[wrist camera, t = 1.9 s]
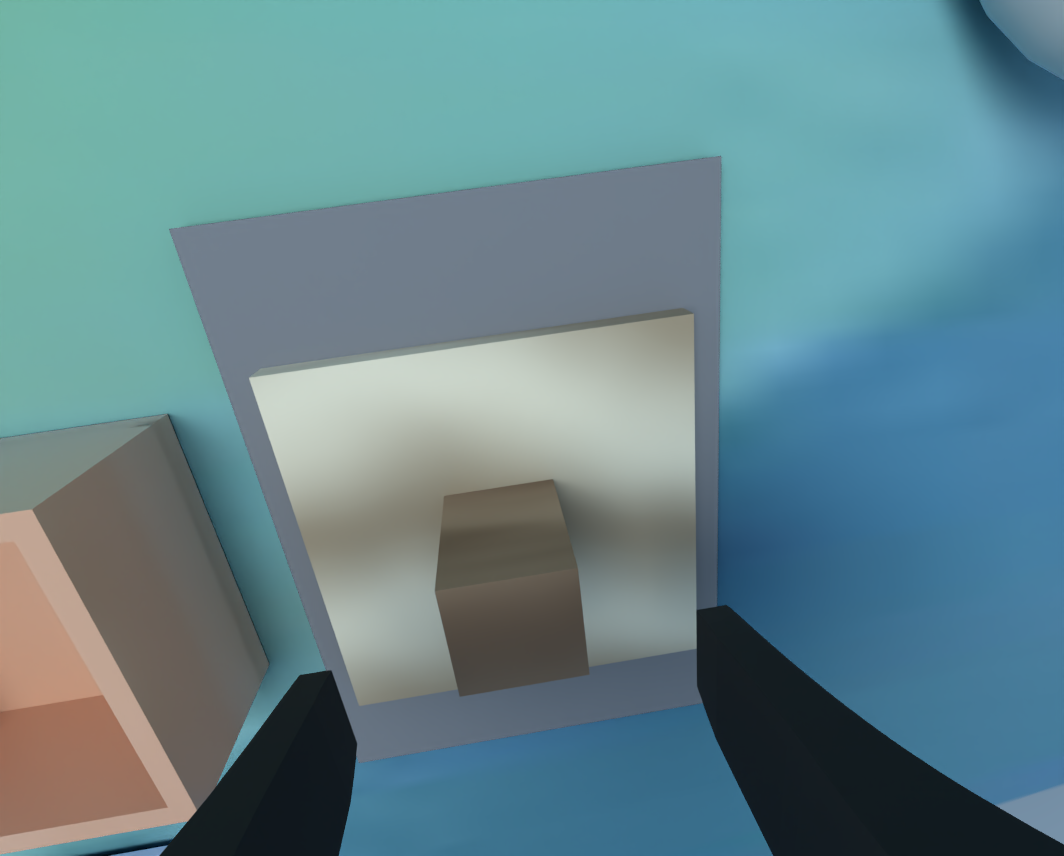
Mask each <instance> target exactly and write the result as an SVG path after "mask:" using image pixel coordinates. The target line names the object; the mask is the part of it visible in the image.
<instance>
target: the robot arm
mask: <svg viewBox="0 0 1064 856" xmlns="http://www.w3.org/2000/svg"><path fill="white" fill-rule="evenodd" d="M696 635H697V688H698V691H699V693H700V696H701V699H702V702H703V705H704V707H705V710H706V713H707V716H708V718H709V721H710V724H711V726H712V729H713V732H714V734H715V737H716V740H717V742H718V744H719V746H720V748H721V750H722V752H723V754H724V756H725V758H726V760H727V762H728V764H729V767H730V769H731V771H732V773H733V775H734V777H735V779H736V781H737V783H738V785H739V787H740V789H741V791H742V793H743V795H744V797H745V799H746V801H747V803H748V805H749V807H750V809H751V811H752V813H753V815H754V817H755V819H756V822H757V824H758V826H759V828H760V830H761V832H762V834H763V836H764V838H765V840H766V842H767V844H768V846H769V848H770V850H771V852H772V854H773V856H1064V845H1063V844H1062V843H1060V842H1058V841H1056V840H1055V839H1053V838H1051V837H1049V836H1047V835H1045V834H1044V833H1042V832H1040V831H1038V830H1036V829H1034V828H1033V827H1031V826H1029V825H1028V824H1026V823H1024V822H1023V821H1021V820H1019V819H1017V818H1016V817H1014V816H1012V815H1011V814H1009V813H1007V812H1005V811H1004V810H1002V809H1000V808H999V807H997V806H995V805H993V804H992V803H990V802H988V801H986V800H985V799H983V798H981V797H980V796H978V795H976V794H974V793H973V792H971V791H969V790H968V789H966V788H964V787H963V786H961V785H960V784H958V783H956V782H955V781H953V780H952V779H950V778H948V777H947V776H945V775H944V774H942V773H940V772H939V771H937V770H936V769H934V768H933V767H931V766H930V765H928V764H927V763H925V762H924V761H922V760H921V759H919V758H918V757H916V756H915V755H913V754H912V753H910V752H909V751H907V750H906V749H904V748H903V747H901V746H900V745H898V744H897V743H896V742H894V741H893V740H891V739H890V738H889V737H887V736H886V735H884V734H883V733H882V732H880V731H879V730H877V729H876V728H875V727H873V726H872V725H871V724H869V723H868V722H867V721H865V720H864V719H863V718H861V717H860V716H859V715H857V714H856V713H855V712H853V711H852V710H851V709H849V708H848V707H847V706H845V705H844V704H843V703H841V702H840V701H839V700H838V699H836V698H835V697H834V696H832V695H831V694H830V693H829V692H827V691H826V690H825V689H824V688H822V687H821V686H820V685H819V684H818V683H816V682H815V681H814V680H813V679H811V678H810V677H809V676H808V675H807V674H805V673H804V672H803V671H802V670H801V669H799V668H798V667H797V666H796V665H794V664H793V663H792V662H791V661H790V660H789V659H787V658H786V657H785V656H784V655H783V654H782V653H780V652H779V651H778V650H777V649H776V648H775V647H774V646H772V645H771V644H770V643H769V642H768V641H767V640H766V639H765V638H763V637H762V636H761V635H760V634H759V633H758V632H757V631H756V630H754V629H753V628H752V627H751V626H750V625H749V624H748V623H747V622H746V621H744V620H743V619H742V618H741V617H740V616H739V615H738V614H737V613H736V612H734V611H733V610H732V609H731V608H730V607H728V606H727V605H724V606H717V607H711V608H705V609H699V610H696ZM356 752H357V741H356V738H355V735H354V733H353V730H352V727H351V724H350V721H349V718H348V716H347V713H346V710H345V707H344V704H343V701H342V699H341V696H340V693H339V690H338V687H337V684H336V682H335V679H334V676H333V673H332V670H328V671H322V672H316V673H310V674H304V675H300V676H299V677H298V678H297V679H296V681H295V682H294V683H293V685H292V686H291V687H290V689H289V690H288V691H287V693H286V694H285V695H284V697H283V698H282V699H281V701H280V702H279V703H278V705H277V706H276V708H275V709H274V710H273V712H272V713H271V714H270V716H269V717H268V718H267V720H266V721H265V723H264V724H263V725H262V727H261V728H260V729H259V731H258V732H257V733H256V735H255V736H254V737H253V739H252V740H251V741H250V743H249V744H248V745H247V747H246V748H245V749H244V751H243V752H242V753H241V755H240V756H239V757H238V759H237V760H236V761H235V762H234V764H233V765H232V766H231V768H230V769H229V770H228V772H227V773H226V774H225V776H224V777H223V778H222V779H221V781H220V782H219V783H218V785H217V786H216V787H215V789H214V790H213V791H212V792H211V794H210V795H209V796H208V797H207V799H206V800H205V801H204V802H203V803H202V805H201V806H200V807H199V808H198V810H197V811H196V812H195V813H194V814H193V816H192V817H191V818H190V819H189V821H188V822H187V823H186V824H185V825H184V827H183V828H182V829H181V830H180V831H179V833H178V834H177V835H176V836H175V838H174V839H173V840H172V841H171V842H170V844H169V845H167V846H161V847H155V848H150V849H144V850H138V851H133V852H127V853H122V854H116V855H110V856H339V851H340V847H341V843H342V838H343V834H344V829H345V825H346V821H347V816H348V811H349V807H350V802H351V795H352V787H353V779H354V771H355V762H356Z"/></svg>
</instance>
